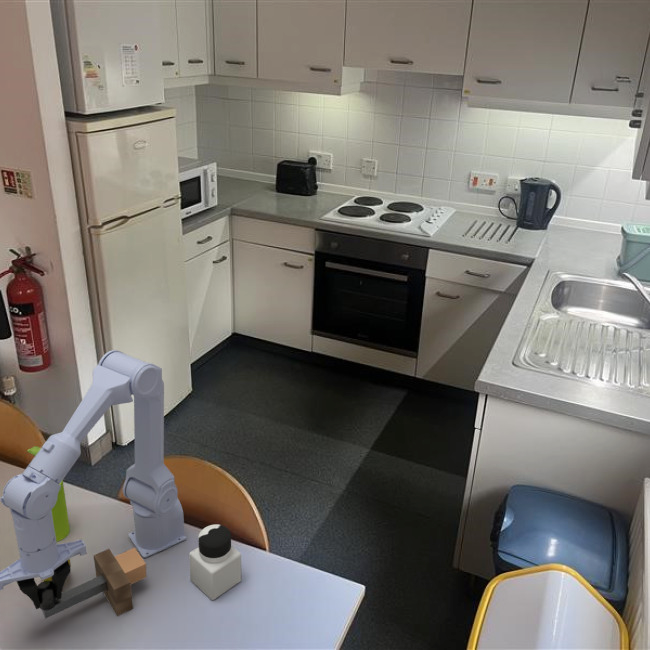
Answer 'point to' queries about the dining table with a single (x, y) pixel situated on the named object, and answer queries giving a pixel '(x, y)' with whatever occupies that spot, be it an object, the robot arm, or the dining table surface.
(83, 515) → the dining table surface
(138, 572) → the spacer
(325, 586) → the dining table surface
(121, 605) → the bracket
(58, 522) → the soap dispenser
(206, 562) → the medicine bottle
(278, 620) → the dining table surface
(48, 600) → the shaft
